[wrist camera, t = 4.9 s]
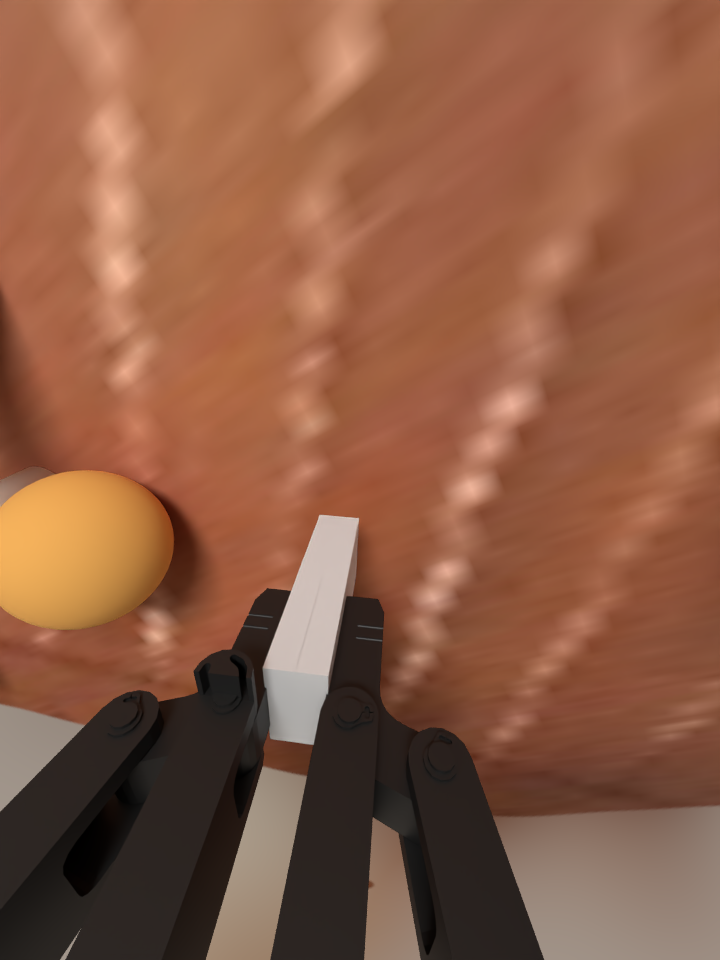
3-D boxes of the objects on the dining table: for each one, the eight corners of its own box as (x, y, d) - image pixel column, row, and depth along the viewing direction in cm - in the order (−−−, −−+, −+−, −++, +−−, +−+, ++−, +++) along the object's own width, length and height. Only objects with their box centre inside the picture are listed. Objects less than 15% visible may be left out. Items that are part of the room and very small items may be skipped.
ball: (-83, 542, 10) (170, 483, 13) (-36, 470, 14) (143, 439, 17) (9, 700, 12) (202, 618, 15) (24, 595, 17) (171, 549, 20)
